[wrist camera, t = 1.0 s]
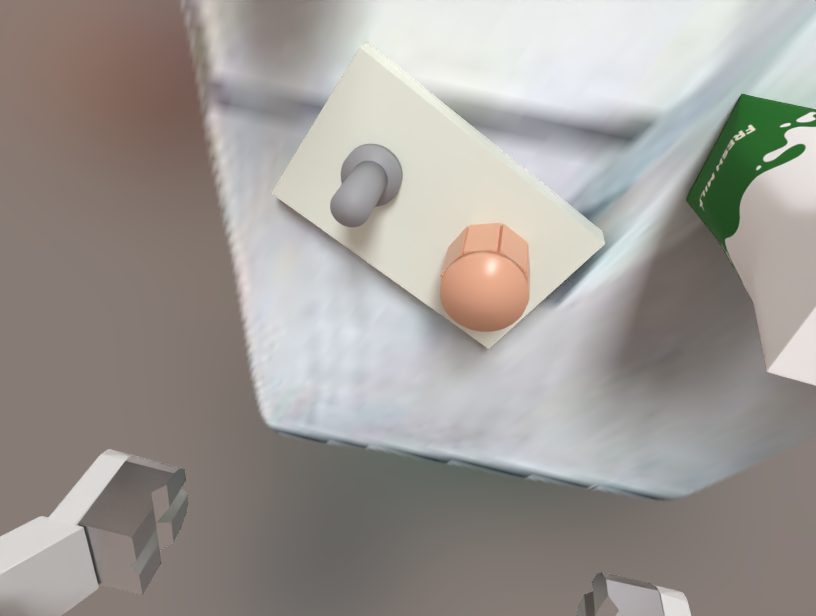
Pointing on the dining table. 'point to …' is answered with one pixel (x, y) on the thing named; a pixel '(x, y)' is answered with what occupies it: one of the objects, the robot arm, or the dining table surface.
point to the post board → (423, 186)
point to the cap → (486, 277)
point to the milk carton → (768, 223)
